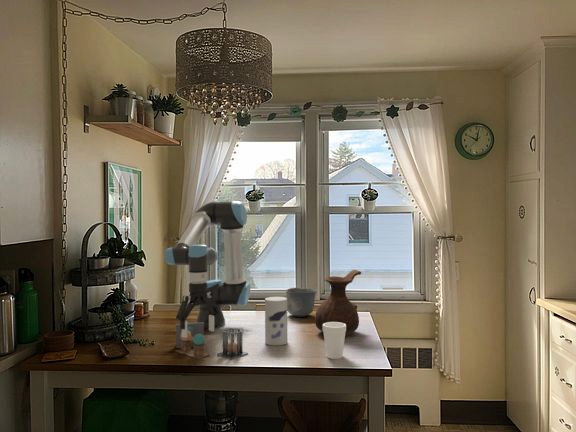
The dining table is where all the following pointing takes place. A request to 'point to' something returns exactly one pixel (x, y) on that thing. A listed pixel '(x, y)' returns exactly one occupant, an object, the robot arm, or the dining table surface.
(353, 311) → the jug
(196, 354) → the rack
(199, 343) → the teal ball
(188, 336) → the rack ball terracotta
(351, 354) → the dining table surface
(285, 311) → the container
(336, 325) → the foam cup
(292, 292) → the bowl
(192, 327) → the grey upright block
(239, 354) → the grey barred cage
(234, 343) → the tube ball
